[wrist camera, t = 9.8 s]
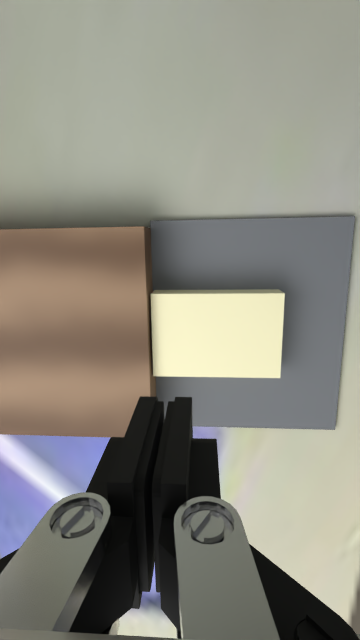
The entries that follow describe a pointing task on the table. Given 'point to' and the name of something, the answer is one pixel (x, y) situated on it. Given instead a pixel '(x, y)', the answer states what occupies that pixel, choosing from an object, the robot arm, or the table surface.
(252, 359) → the notepad
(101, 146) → the table surface
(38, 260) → the block
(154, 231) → the mat
